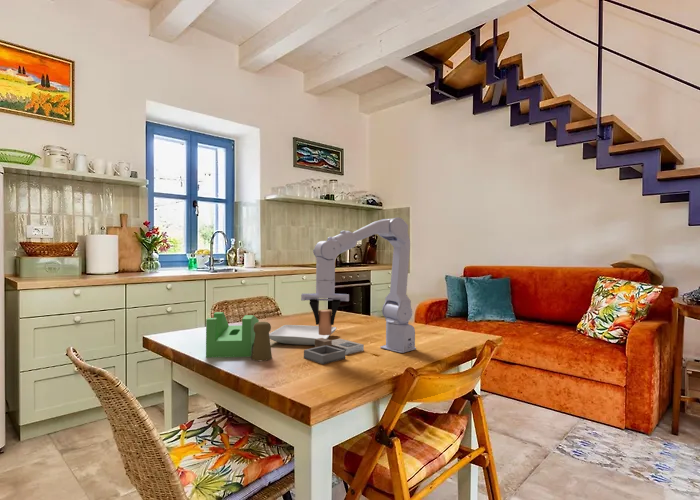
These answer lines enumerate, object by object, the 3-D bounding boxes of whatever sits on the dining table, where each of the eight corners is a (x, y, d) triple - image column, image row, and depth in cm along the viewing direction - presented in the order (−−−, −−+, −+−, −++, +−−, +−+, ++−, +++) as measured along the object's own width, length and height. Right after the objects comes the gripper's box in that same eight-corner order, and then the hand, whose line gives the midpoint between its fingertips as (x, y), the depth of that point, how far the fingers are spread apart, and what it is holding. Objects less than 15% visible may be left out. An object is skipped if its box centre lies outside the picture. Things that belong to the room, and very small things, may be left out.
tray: (345, 358, 123) (345, 350, 123) (322, 364, 116) (322, 355, 116) (326, 352, 129) (326, 345, 129) (303, 358, 123) (303, 349, 123)
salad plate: (337, 334, 156) (337, 325, 156) (326, 348, 135) (326, 337, 135) (284, 332, 159) (284, 323, 159) (265, 345, 138) (265, 335, 138)
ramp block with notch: (250, 357, 124) (251, 318, 124) (205, 358, 122) (206, 319, 122) (258, 339, 148) (258, 307, 148) (221, 340, 146) (221, 307, 146)
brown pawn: (263, 354, 127) (263, 319, 126) (276, 357, 123) (276, 321, 123) (247, 358, 122) (247, 322, 122) (260, 362, 118) (260, 324, 118)
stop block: (331, 351, 131) (331, 340, 131) (324, 352, 129) (324, 341, 129) (321, 348, 135) (321, 337, 135) (314, 349, 133) (314, 339, 133)
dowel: (334, 333, 124) (334, 310, 123) (325, 335, 120) (325, 312, 120) (324, 331, 126) (324, 309, 126) (315, 333, 123) (315, 311, 123)
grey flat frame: (363, 350, 132) (363, 344, 132) (346, 354, 127) (346, 348, 127) (340, 344, 141) (340, 338, 141) (322, 348, 135) (322, 342, 135)
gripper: (349, 279, 126) (348, 322, 126) (303, 278, 127) (303, 321, 127) (349, 281, 119) (348, 326, 119) (300, 280, 120) (299, 325, 120)
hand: (324, 324), depth 123 cm, fingers closed on dowel, 4 cm apart
